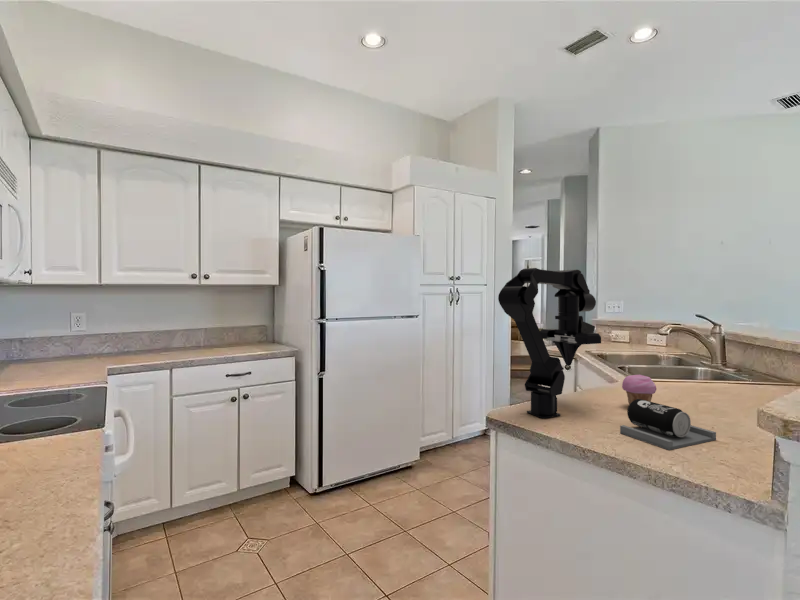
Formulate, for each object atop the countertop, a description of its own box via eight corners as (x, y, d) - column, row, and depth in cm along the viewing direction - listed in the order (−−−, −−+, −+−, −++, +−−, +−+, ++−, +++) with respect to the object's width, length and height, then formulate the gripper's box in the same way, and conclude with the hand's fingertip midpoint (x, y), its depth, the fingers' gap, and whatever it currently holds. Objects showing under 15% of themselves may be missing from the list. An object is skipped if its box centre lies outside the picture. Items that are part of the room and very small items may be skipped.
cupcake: (658, 414, 117) (658, 378, 117) (623, 410, 120) (623, 376, 120) (653, 406, 125) (653, 372, 125) (620, 403, 128) (620, 370, 128)
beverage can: (640, 393, 106) (687, 405, 95) (647, 416, 107) (695, 430, 96) (622, 405, 104) (669, 419, 93) (629, 428, 105) (676, 444, 94)
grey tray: (669, 450, 90) (669, 441, 90) (620, 433, 101) (620, 425, 101) (716, 439, 96) (716, 432, 96) (665, 425, 107) (665, 417, 107)
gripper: (615, 313, 118) (615, 368, 118) (565, 310, 135) (565, 359, 135) (586, 314, 114) (585, 371, 114) (538, 311, 131) (538, 361, 131)
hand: (568, 365), depth 124 cm, fingers closed
